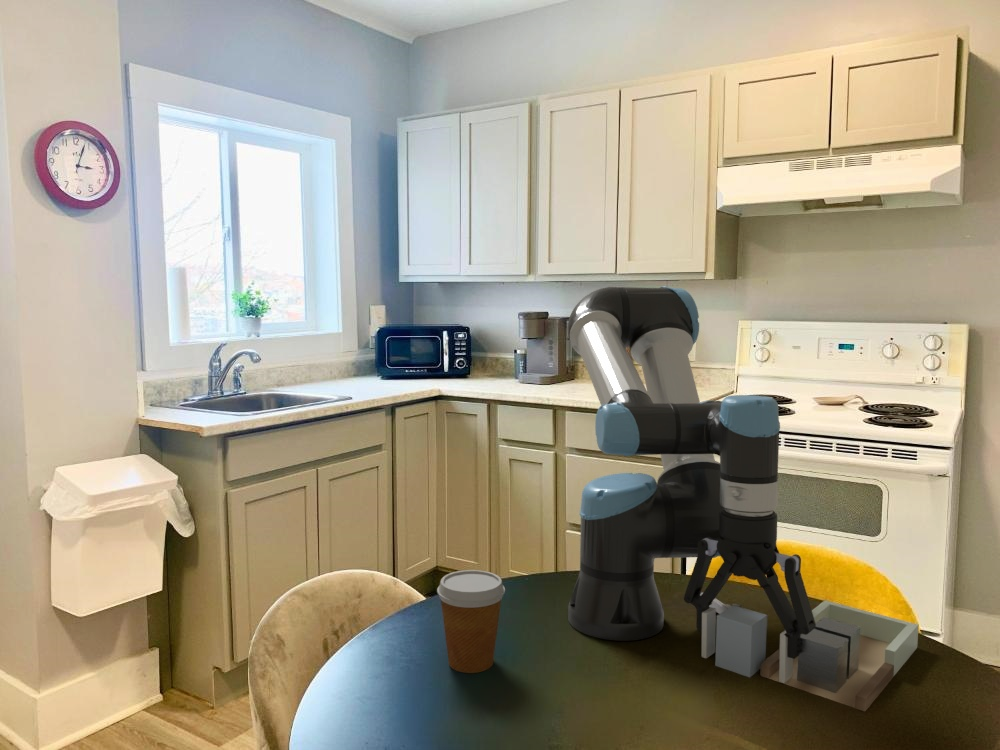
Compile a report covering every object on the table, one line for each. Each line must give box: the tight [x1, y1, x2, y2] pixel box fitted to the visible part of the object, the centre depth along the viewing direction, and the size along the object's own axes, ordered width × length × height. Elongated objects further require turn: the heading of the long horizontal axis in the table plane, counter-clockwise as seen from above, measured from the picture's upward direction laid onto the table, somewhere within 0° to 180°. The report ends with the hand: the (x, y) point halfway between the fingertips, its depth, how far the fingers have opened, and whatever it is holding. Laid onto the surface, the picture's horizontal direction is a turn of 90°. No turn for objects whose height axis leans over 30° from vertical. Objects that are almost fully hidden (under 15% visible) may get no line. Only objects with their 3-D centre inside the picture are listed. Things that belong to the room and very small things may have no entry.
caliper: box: [700, 591, 742, 615], centre depth 123 cm, size 20×1×6 cm, turn 1°
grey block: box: [714, 605, 768, 678], centre depth 106 cm, size 5×5×8 cm
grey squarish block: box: [797, 629, 848, 693], centre depth 101 cm, size 5×4×6 cm
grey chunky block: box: [814, 617, 860, 679], centre depth 105 cm, size 5×4×6 cm
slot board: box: [759, 635, 918, 712], centre depth 108 cm, size 13×24×2 cm, turn 138°
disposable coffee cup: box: [436, 569, 506, 674], centre depth 107 cm, size 10×10×12 cm
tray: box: [800, 599, 919, 678], centre depth 112 cm, size 13×12×4 cm
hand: (745, 666), depth 106 cm, fingers open, 10 cm apart
